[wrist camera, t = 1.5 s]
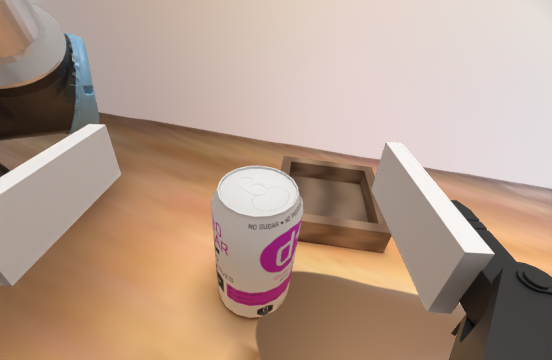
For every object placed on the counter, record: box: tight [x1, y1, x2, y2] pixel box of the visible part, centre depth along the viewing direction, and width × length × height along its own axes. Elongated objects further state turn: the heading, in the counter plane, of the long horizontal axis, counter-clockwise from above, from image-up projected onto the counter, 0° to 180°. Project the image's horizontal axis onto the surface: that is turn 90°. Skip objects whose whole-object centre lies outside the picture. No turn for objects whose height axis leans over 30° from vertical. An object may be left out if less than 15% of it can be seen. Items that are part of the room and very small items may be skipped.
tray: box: [281, 156, 392, 253], centre depth 43 cm, size 16×16×4 cm
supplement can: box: [211, 166, 303, 318], centre depth 28 cm, size 8×8×15 cm
